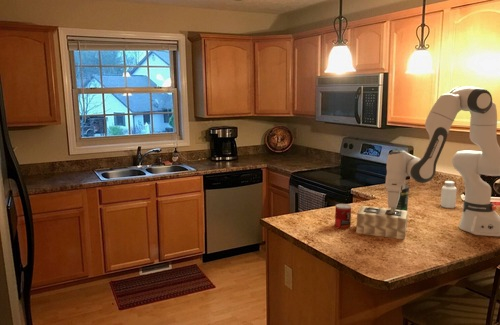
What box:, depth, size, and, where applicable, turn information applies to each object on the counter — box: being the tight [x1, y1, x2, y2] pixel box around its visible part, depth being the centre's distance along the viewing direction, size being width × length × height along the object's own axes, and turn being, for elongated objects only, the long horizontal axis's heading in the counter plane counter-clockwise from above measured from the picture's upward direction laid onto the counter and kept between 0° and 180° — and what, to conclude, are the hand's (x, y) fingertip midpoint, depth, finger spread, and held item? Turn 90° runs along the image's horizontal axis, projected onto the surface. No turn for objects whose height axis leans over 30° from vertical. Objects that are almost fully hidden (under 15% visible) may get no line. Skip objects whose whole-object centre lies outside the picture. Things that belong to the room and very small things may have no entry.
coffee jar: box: [396, 183, 410, 211], centre depth 222 cm, size 10×8×19 cm
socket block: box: [355, 205, 409, 240], centre depth 201 cm, size 22×14×10 cm, turn 66°
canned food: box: [334, 203, 352, 230], centre depth 208 cm, size 8×8×11 cm
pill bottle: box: [440, 180, 458, 209], centre depth 243 cm, size 8×8×15 cm
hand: (393, 212), depth 198 cm, fingers closed
